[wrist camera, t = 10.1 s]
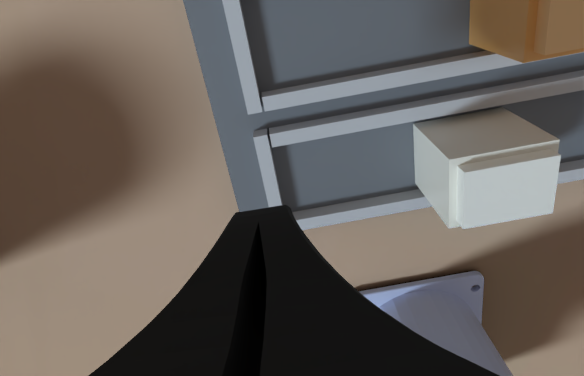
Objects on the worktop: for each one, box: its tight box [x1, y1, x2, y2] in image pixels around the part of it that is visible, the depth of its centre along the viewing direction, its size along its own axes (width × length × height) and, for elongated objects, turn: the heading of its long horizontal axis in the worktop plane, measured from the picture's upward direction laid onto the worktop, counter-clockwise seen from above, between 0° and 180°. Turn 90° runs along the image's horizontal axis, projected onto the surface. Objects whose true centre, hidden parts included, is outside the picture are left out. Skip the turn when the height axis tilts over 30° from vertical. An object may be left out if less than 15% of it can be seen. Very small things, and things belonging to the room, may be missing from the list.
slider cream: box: [413, 107, 561, 229], centre depth 17 cm, size 3×4×5 cm
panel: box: [183, 0, 584, 230], centre depth 17 cm, size 18×19×2 cm
